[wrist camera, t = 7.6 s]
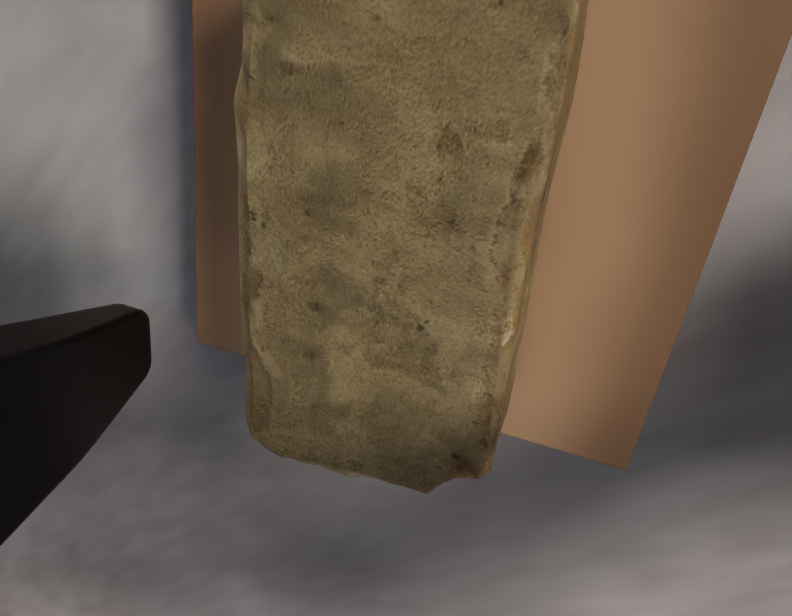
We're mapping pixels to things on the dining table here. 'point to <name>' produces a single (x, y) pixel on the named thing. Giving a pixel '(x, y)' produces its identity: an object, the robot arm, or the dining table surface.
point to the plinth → (567, 203)
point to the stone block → (394, 222)
